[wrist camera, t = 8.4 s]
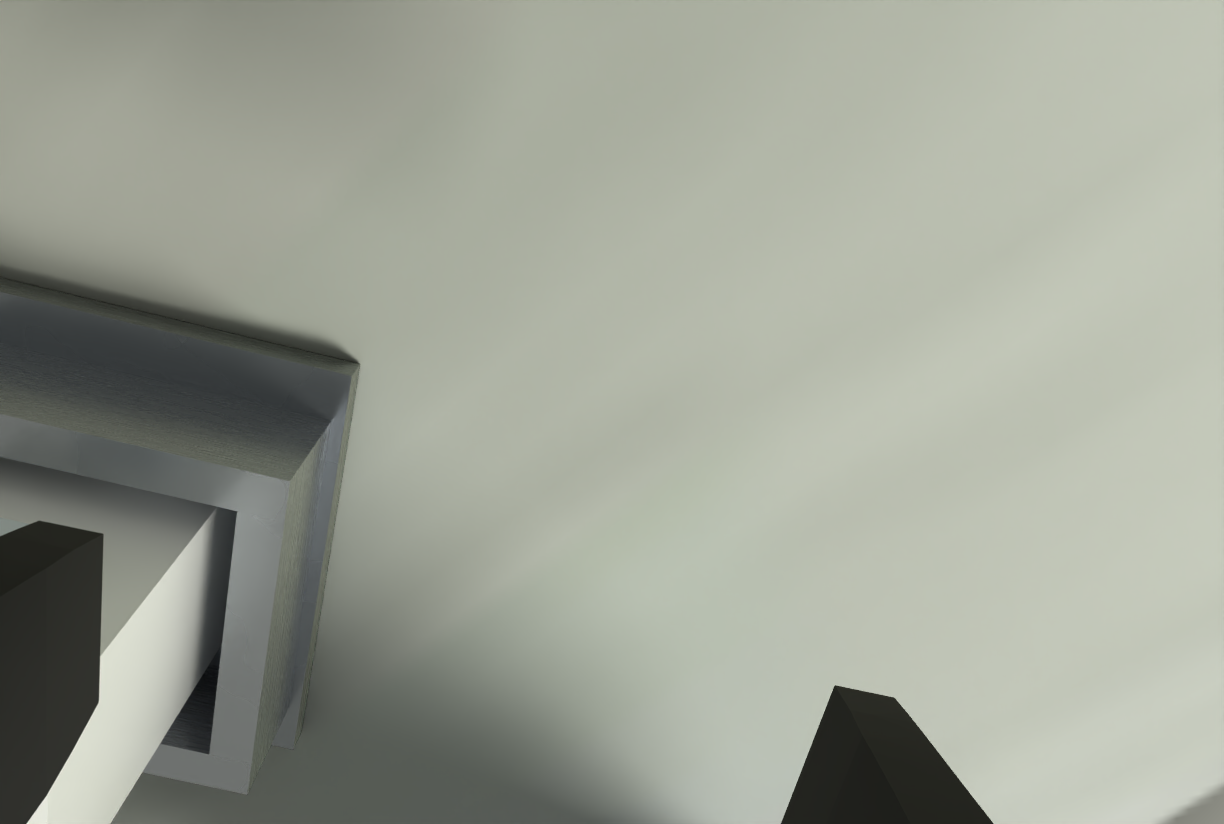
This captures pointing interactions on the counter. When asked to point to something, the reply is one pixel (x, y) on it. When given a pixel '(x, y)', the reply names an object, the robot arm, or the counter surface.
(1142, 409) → the counter surface
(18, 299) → the panel
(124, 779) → the plug
